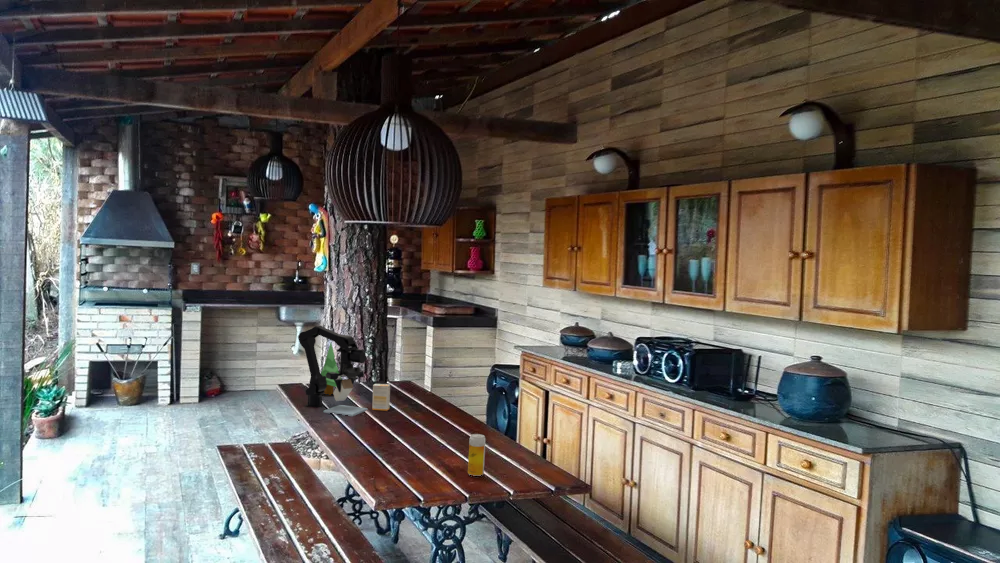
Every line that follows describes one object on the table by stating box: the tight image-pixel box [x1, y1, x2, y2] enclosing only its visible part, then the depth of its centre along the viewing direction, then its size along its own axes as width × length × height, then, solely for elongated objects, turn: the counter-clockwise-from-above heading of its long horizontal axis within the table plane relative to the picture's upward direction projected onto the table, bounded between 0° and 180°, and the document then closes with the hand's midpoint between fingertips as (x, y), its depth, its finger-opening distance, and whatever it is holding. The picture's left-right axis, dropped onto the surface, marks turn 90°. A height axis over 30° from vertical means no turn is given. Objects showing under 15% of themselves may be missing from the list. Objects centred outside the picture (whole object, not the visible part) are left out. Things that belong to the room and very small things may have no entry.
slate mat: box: [323, 404, 369, 417], centre depth 367 cm, size 16×16×1 cm
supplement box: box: [371, 383, 391, 412], centre depth 375 cm, size 8×5×13 cm, turn 84°
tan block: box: [333, 378, 354, 402], centre depth 369 cm, size 5×5×12 cm
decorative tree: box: [320, 342, 343, 396], centre depth 406 cm, size 14×16×30 cm
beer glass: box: [467, 433, 487, 477], centre depth 274 cm, size 6×6×15 cm
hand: (344, 391), depth 368 cm, fingers closed on tan block, 5 cm apart
